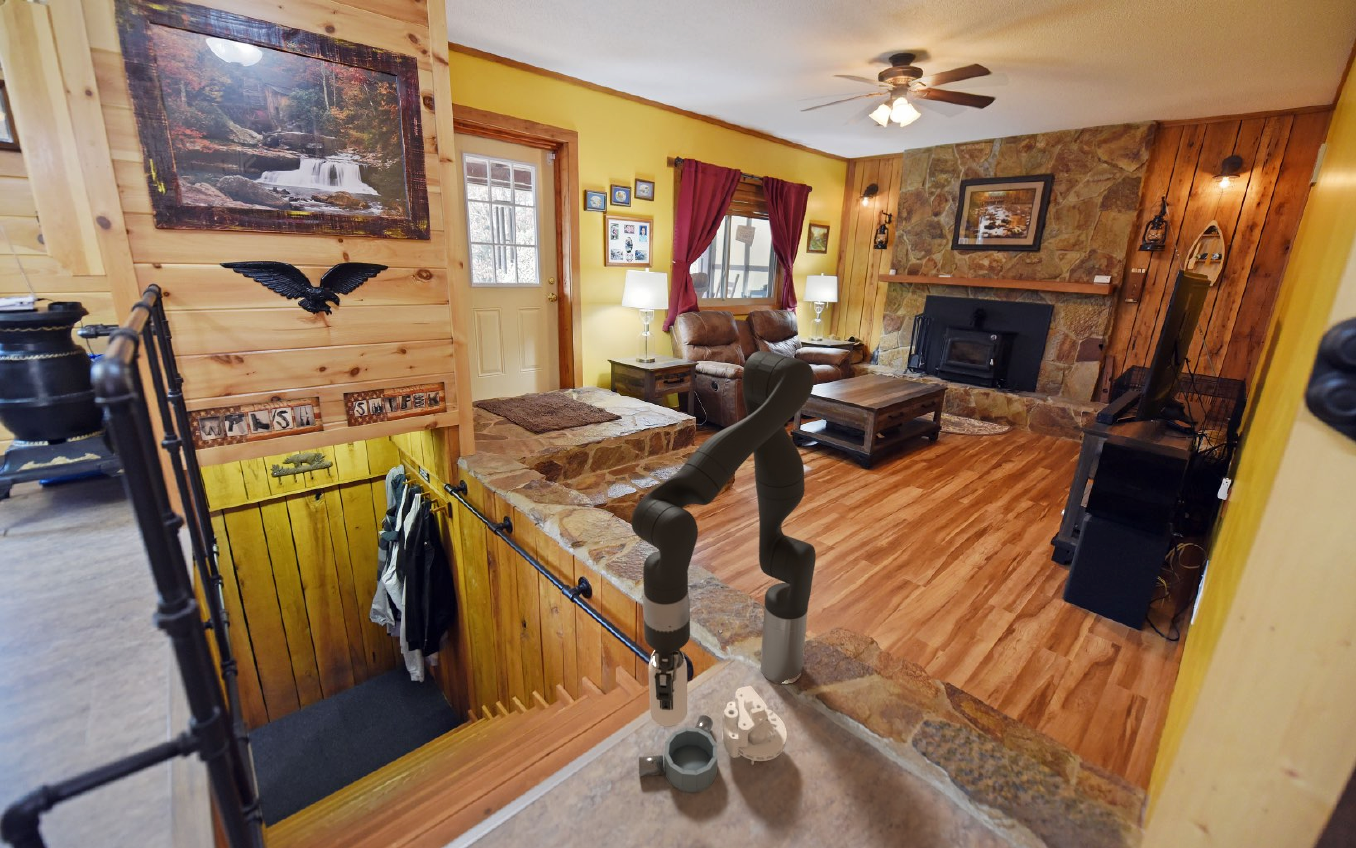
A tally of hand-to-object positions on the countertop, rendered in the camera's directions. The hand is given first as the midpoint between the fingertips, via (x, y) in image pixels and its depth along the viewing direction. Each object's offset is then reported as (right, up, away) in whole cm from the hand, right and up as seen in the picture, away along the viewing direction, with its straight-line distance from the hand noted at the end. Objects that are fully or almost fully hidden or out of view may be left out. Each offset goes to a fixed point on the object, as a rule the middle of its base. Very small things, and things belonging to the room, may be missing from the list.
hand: (668, 692), depth 96 cm
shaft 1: (-3, -17, +6) cm, 19 cm away
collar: (+4, -17, +7) cm, 19 cm away
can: (0, -4, +1) cm, 4 cm away
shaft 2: (+6, -15, +13) cm, 21 cm away
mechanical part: (+16, -16, +11) cm, 25 cm away
